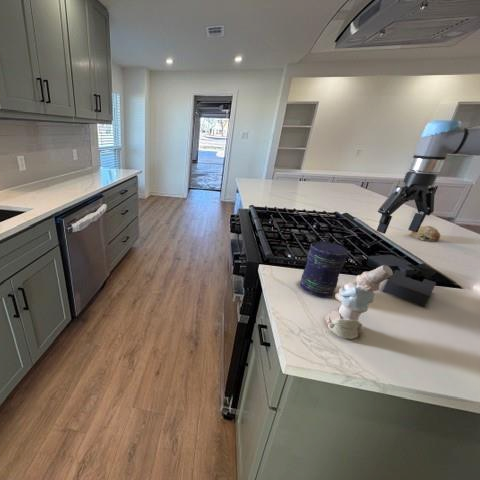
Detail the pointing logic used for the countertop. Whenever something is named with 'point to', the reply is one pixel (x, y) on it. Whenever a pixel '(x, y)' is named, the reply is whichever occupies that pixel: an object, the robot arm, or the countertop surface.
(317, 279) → the storage jar
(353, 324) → the figurine
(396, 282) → the base pad
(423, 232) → the bread roll
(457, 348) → the countertop surface
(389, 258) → the loose pad
